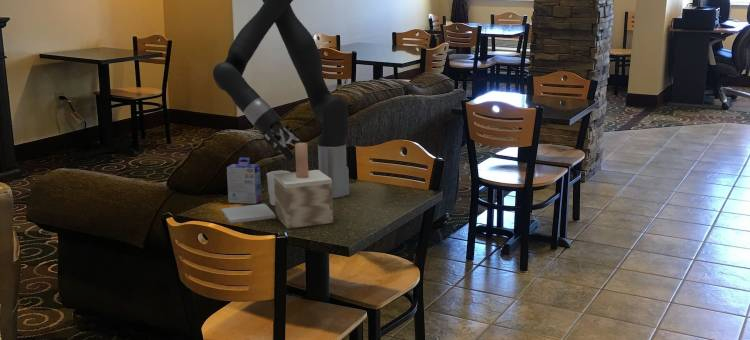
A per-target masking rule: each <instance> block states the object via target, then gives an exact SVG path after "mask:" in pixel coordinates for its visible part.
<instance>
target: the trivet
mask: <svg viewBox="0 0 750 340" xmlns="http://www.w3.org/2000/svg"><path fill="white" fill-rule="evenodd" d="M220 210H221V211H220V212H221V213H222V215H223V214H224V215H223V216H224V217H225V219H226V218H227V219H228V220H227V219H226V220H227V222H228V223H229V222H230V223H229V224H236V223H237V222H238V223H244V222H254V221H261V220H263V221H264V220H269V219H270V220H271V219H272V220H273V219H277V217H276V213H275V212H274V210H273V211H272V209H271V208H270V207H269V206H268V205H267V204H266V203H260V204H253V205H252V204H250V205H242V206H232V207H226V208H224V207H223V208H220ZM235 222H236V223H235Z"/></svg>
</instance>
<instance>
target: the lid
mask: <svg viewBox="0 0 750 340" xmlns="http://www.w3.org/2000/svg"><path fill="white" fill-rule="evenodd" d="M294 151H295V154H294V155H295V171H293V172H291V171H290V172H291V173H281V174H274V178H275V179H276V180H277V181H278V182H279V183H280V184H281V185H282V186H284V187H285V188H294V187H303V186H313V185H322V184H331V183H332V179H331V178H329V177H328V176H326V175H325V174H324V173H322V172H321V171H319V169H313V170H312V169H311V170H310V169H309V162H308V161H309V155H308V152H309V151H308V143H307V142H300V143H296V144H295V147H294Z"/></svg>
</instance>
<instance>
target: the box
mask: <svg viewBox="0 0 750 340" xmlns="http://www.w3.org/2000/svg"><path fill="white" fill-rule="evenodd" d="M274 188H275V215H276V219H278V221H280V222H281V223H282V224H283V225H284V226H285V227H286V228H287V229H293V228H301V227H308V226H311V227H312V226H317V225H326V224H334V201H333V199H334V198H333V195H332V183H331V184H322V185H313V186H303V187H294V188H285V187H284V186H282V185H281V184H280V183H279V182H278V181H277V180H276V179H275V178H274Z"/></svg>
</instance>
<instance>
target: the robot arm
mask: <svg viewBox="0 0 750 340" xmlns="http://www.w3.org/2000/svg"><path fill="white" fill-rule="evenodd" d="M293 1H294V0H262V5H261V7H260V8H259V9H258V10H257V12H256V13H255V14H254V16H253V17H251V18H250V20H248V22H247V23H246V24H245V25H244V26H242V28H241V29H240V31H239V32H238V34H237V35H236V37H235V39H234V40H233V41H232V43H231V45H230V47H229V48H228V51H227V57H226V59H225V61H224V62H223V61H222V62H219V63H217V64H215V66H214V68H213V70H212V77H213V79H214V82H215V84H216V86H217V87H218V88H219V89H220V90H221V91H225V93H226V94H227V95H228V96H230V98H231V99H232V102H233V103H234V104H235V106H236V107H238V109H239V110H240V111H241V112H242V113H243V115H245V117H246V118H247V120H248V121H249V122H250V123H251V124H252V126H253V127H255V129H257V130H258V132H259V133H260V134H261V135H262V136H263V137H262V138H263V140H264V141H265V142H266V143H267V144H268V145H269V147H270V148H271V149H272V151H274V152H275V153H277V152H278V153H281V154H282V155H283V156H284V157H285V158H286V159H287V160H288V161H289V162H291V161H293V159H294V158H296V156H295V154H294V153H293V152H292V151H291V150H290V149H289V147H287V144H289V145H291V146H293V147H294V148H295V144H296V143H301V139H302V137H301V136H300V135H299V133H298V132H296V130H294V128H293V127H292V126H290V125H289V124H286V125H285V126H284V125H283V124H281V123H282V120H283V119H282V117H281V116H280V115H279V114H278V113H277V112H276V111H275V109H273V107H272V106H271V105H270V104H269V103H268V102H267V101H266V100H264V98H262V97H261V96H260V95H259V94H258V93H257V92H256V90H255V89H254V88H252V87H251V85H250V84H249V83H248V82H247V81H246V79H245V78H244V77H243V74H244V72H245V70H246V68H247V66H248V63H249V62H250V60H251V59H252V57H253V56H254V54H255V52H256V50H257V49H258V47H259V46H260V44H261V42H262V41H263V40H264V38H265V36H266V35H267V34H268V32H269V30H270V29H271V28H272V26H273V25H274V24H275V25H276V28H277V29H278V32H279V35H280V36H281V39H282V42H283V44H284V45H285V49H286V51H287V53H288V56H289V58H290V60H291V63H292V64H293V66H294V68H295V70H296V72H297V75H298V77H299V79H300V81H301V83H302V85H303V88H304V90H305V92H306V95H307V96H306V97H307V98H308V101H309V105H310V108H311V110H312V114H313V115H314V117H315V118H316V119H317V120H318V121H319V122H321V123H322V133H321V134H319V136H318V137H317V152H318V153H317V154H318V158H317V159H318V170H319V171H321V172H322V173H324V174H325V175H326V176H328V177H329V178H331V179H332V195H333V199H337V198H343V197H346V196H350V177H349V171H350V170H349V167H348V166H347V141H346V140H347V137H348V134H349V110H348V109H349V108H348V105H347V103H346V101H345V100H344V99H343V98H341V97H338V96H333V94H332V93H331V92H330V90H329V88H328V86H327V84H326V81H325V79H324V75H323V74H324V73H323V60H322V55H321V53H320V50H319V48H318V46H317V43H316V40H315V38H314V37H313V36H312V34H311V33H310V32H309V30H308V28H306V26H304V24H303V23H302V22H301V21H300V20H299V18H298V17H297V16H296V13H295V12H294V9H293V8H292V5H291V4H292V2H293Z"/></svg>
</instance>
